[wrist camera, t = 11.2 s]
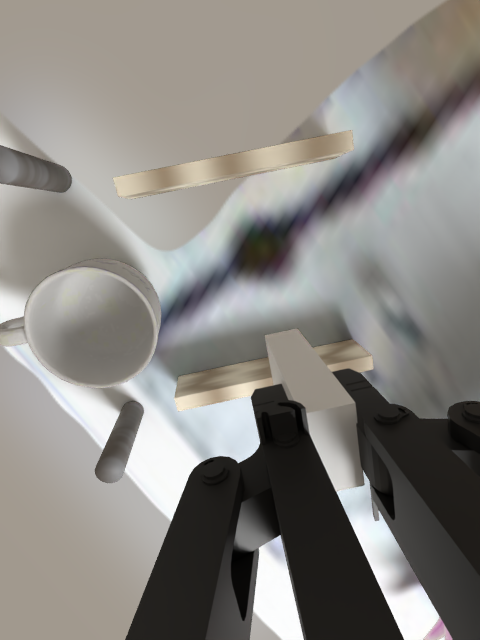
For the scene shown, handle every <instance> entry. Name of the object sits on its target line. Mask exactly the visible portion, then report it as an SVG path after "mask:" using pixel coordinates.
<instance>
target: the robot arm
mask: <svg viewBox="0 0 480 640" xmlns="http://www.w3.org/2000/svg"><path fill="white" fill-rule="evenodd" d="M264 336H265V341H266V347H267V352H268V357H269V363H270V368H271V374H272V379H273V386H268V387H263V388H259V389H255V390H254V392H253V394H252V396H251V400H252V405H253V410H254V414H255V419H256V424H257V429H258V434H259V438H260V445H259V448H258V449H257V451H256V452H255V453H254V454H253V455H252V456H251V457H249V458H247V459H246V460H244V461H242V462H240V463H237V461H236V460H234V459H232V458H230V457H223V456H219V457H213V458H210V459H207V460H205V461H203V462H201V463H200V464H199V465H198V466H196V467H195V468H194V469H193V471H192V472H191V474H190V476H189V478H188V481H187V483H186V486H185V488H184V491H183V494H182V496H181V499H180V501H179V504H178V506H177V509H176V511H175V514H174V516H173V519H172V522H171V524H170V527H169V529H168V532H167V535H166V537H165V539H164V542H163V545H162V547H161V550H160V552H159V555H158V557H157V560H156V562H155V565H154V568H153V570H152V573H151V576H150V578H149V581H148V583H147V586H146V588H145V591H144V593H143V596H142V598H141V601H140V604H139V606H138V608H137V611H136V613H135V616H134V619H133V621H132V624H131V626H130V629H129V632H128V635H127V636H126V639H125V640H250V631H251V622H252V613H253V604H254V595H255V586H256V577H257V568H258V559H259V547H260V546H262V545H264V544H266V543H267V542H269V541H271V540H272V539H274V538H276V537H278V536H279V535H281V539H282V543H283V548H284V552H285V557H286V561H287V566H288V570H289V575H290V579H291V583H292V588H293V592H294V597H295V601H296V606H297V610H298V615H299V619H300V624H301V628H302V633H303V637H304V640H404V639H403V636H402V634H401V632H400V630H399V628H398V625H397V623H396V621H395V619H394V617H393V615H392V612H391V610H390V608H389V606H388V604H387V602H386V599H385V597H384V595H383V593H382V591H381V588H380V586H379V584H378V582H377V580H376V578H375V575H374V573H373V571H372V569H371V567H370V565H369V562H368V560H367V558H366V556H365V554H364V552H363V549H362V547H361V545H360V543H359V541H358V538H357V536H356V534H355V532H354V530H353V528H352V525H351V523H350V521H349V519H348V517H347V515H346V512H345V510H344V508H343V506H342V504H341V501H340V499H339V497H338V495H337V493H336V491H341V490H345V489H350V488H354V487H359V486H363V485H364V476H363V471H364V472H365V474H366V476H367V477H368V479H369V481H370V489H371V499H372V508H373V515H374V519H375V521H378V520H379V514H378V510H379V511H380V513H381V514H382V516H383V518H384V520H385V521H386V523H387V525H388V527H389V528H390V530H391V532H392V534H393V535H394V537H395V539H396V541H397V542H398V544H399V546H400V548H401V549H402V551H403V553H404V555H405V556H406V558H407V560H408V562H409V563H410V565H411V567H412V569H413V571H414V572H415V574H416V576H417V578H418V579H419V581H420V583H421V585H422V586H423V588H424V590H425V592H426V593H427V595H428V597H429V599H430V600H431V602H432V604H433V606H434V607H435V609H436V611H437V613H438V614H439V616H440V618H441V620H442V621H443V623H444V625H445V627H446V628H447V630H448V632H449V634H450V635H451V637H452V639H453V640H480V402H477V401H464V402H460V403H456V404H454V405H452V406H451V407H449V410H448V419H419V418H418V417H417V416H416V415H415V414H414V413H413V412H412V411H410V410H409V409H407V408H406V407H403V406H400V405H396V404H389V403H388V402H387V401H386V400H385V398H384V397H383V396H382V395H381V394H380V393H379V392H378V391H377V390H376V389H375V388H374V387H372V385H371V384H370V383H369V382H368V381H367V380H366V379H365V378H364V377H363V375H362V374H361V373H359V372H357V371H354V370H352V369H350V368H347V369H342V370H338V371H333V372H331V371H330V369H329V368H328V367H327V366H326V364H325V363H324V362H323V360H322V359H321V358H320V357H319V355H318V354H317V353H316V351H315V350H314V349H313V348H312V346H311V345H310V344H309V342H308V341H307V340H306V339H305V337H304V336H303V335H302V333H301V332H300V331H299V330H298V328H296V329H292V330H287V331H282V332H277V333H273V334H268V335H264Z"/></svg>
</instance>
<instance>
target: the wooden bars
mask: <svg viewBox="0 0 480 640" xmlns="http://www.w3.org/2000/svg"><path fill="white" fill-rule="evenodd" d="M352 150H354V145H353V134H352V130H350V131H345V132H340V133H335V134H330V135H325V136H320V137H315V138H310V139H305V140H299V141H294V142H289V143H284V144H279V145H274V146H270V147H264V148H260V149H255V150H249V151H244V152H239V153H234V154H229V155H224V156H219V157H215V158H209V159H204V160H199V161H194V162H189V163H184V164H179V165H174V166H169V167H164V168H159V169H154V170H149V171H144V172H139V173H134V174H129V175H123V176H119V177H114V178H113V181H114V184H115V188H116V191H117V195H118V197H121V198H126V199H136V198H141V197H146V196H151V195H156V194H160V193H165V192H170V191H176V190H180V189H186V188H190V187H196V186H200V185H206V184H210V183H215V182H220V181H225V180H230V179H235V178H240V177H245V176H250V175H255V174H260V173H265V172H270V171H275V170H280V169H285V168H290V167H295V166H300V165H305V164H310V163H315V162H320V161H325V160H330V159H334V158H337V157H339V156H341V155H343V154H345V153H348V152H350V151H352ZM0 183H1V184H7V185H14V186H20V187H27V188H33V189H40V190H47V191H53V192H65V191H67V190H68V189H69V188H70V186H71V183H72V178H71V175H70V173H69V171H68V170H67V169H66V168H65V167H63V166H61V165H58V164H55V163H52V162H49V161H46V160H43V159H40V158H37V157H34V156H31V155H28V154H25V153H22V152H19V151H16V150H13V149H10V148H7V147H4V146H1V145H0ZM313 349H314V350H315V351H316V353H317V354H318V355H319V357H320V358H321V359H322V360H323V362H324V363H325V364H326V366H327V367H328V368H329V369H330V371H331V372H333V371H338V370H342V369H347V368H350V369H352V370H354V371H357V372H364V371H368V370H373V358H372V355H371V354H370V353H368V352H367V351H366V350H365V349H364V348H363V347H361V346H360V345H359V344H358V343H357V342H356V341H355V340H353V339H351V340H346V341H341V342H337V343H332V344H327V345H323V346H318V347H313ZM268 386H273V379H272V374H271V368H270V363H269V357H266V358H262V359H257V360H252V361H248V362H243V363H238V364H233V365H229V366H224V367H219V368H215V369H210V370H205V371H201V372H196V373H191V374H187V375H182V376H179V377H178V382H177V387H176V392H175V398H174V399H175V402H176V406H177V410H178V411H183V410H187V409H192V408H196V407H201V406H206V405H210V404H215V403H220V402H224V401H229V400H234V399H238V398H243V397H248V396H252V394H253V392H254V390H255V389H259V388H263V387H268ZM143 413H144V409H143V407H142V405H141V404H140V403H138V402H135V401H131V402H127V403H126V404H125V405H124V406H123V408H122V410H121V412H120V415H119V417H118V419H117V421H116V423H115V426H114V428H113V430H112V432H111V434H110V437H109V439H108V441H107V443H106V446H105V448H104V450H103V452H102V454H101V457H100V459H99V461H98V463H97V465H96V468H95V474H96V476H97V478H98V479H99V480H101V481H102V482H106V483H113V482H117V481H118V480H120V479H121V478H122V476H123V473H124V470H125V467H126V464H127V461H128V458H129V455H130V452H131V449H132V446H133V443H134V440H135V437H136V434H137V431H138V428H139V425H140V422H141V419H142V416H143Z"/></svg>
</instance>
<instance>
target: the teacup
mask: <svg viewBox="0 0 480 640" xmlns="http://www.w3.org/2000/svg"><path fill="white" fill-rule="evenodd" d="M160 323H161V307H160V302H159V298H158V296H157V293H156V291H155V289H154V288H153V286H152V284H151V283H150V282H149V280H148V279H147V278H146V277H145V276H144V275H143V274H141V273H140V272H139V271H138V270H136V269H135V268H133V267H131V266H129V265H127V264H125V263H123V262H119V261H116V260H111V259H90V260H86V261H82V262H79V263H76V264H74V265H72V266H69V267H67V268H66V269H63V270H60V271H58V272H56V273H54V274H52V275H50V276H48V277H46V278H45V279H44V280H43V281H41V282H40V284H39V285H38V286H37V287H36V288H35V289H34V290H33V291H32V293H31V294H30V296H29V299H28V301H27V302H26V306H25V312H24V317H20V318H16V319H12V320H9V321H6V322H3V323H1V324H0V345H1V346H16V345H21V344H25V343H28V344H29V346H30V348H31V350H32V352H33V353H34V355H35V356H36V357H37V359H38V360H39V362H40V363H41V364H42V365H43V366H44V367H45V368H46V369H47V370H48V371H50V372H51V373H52V374H54V375H55V376H57V377H59V378H60V379H62V380H65V381H67V382H69V383H72V384H75V385H79V386H84V387H90V388H106V387H112V386H116V385H119V384H122V383H124V382H127V381H128V380H130V379H132V378H134V377H135V376H137V375H138V374H139V373H140V372H141V371H142V370H143V369H144V368H145V367H146V366H147V365H148V363H149V362H150V360H151V358H152V356H153V354H154V352H155V350H156V345H157V341H158V333H159V329H160Z"/></svg>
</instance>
